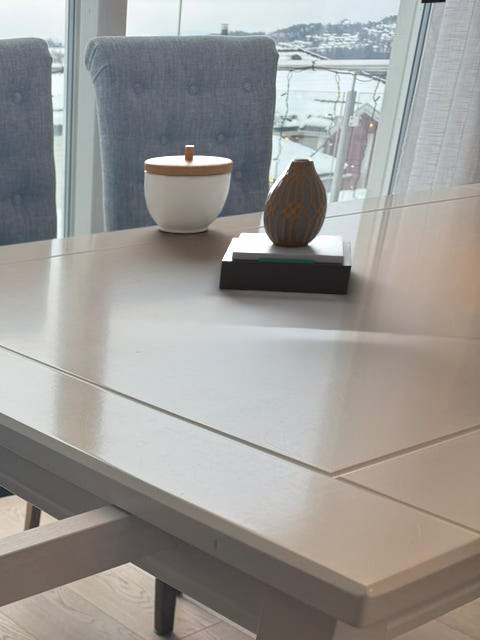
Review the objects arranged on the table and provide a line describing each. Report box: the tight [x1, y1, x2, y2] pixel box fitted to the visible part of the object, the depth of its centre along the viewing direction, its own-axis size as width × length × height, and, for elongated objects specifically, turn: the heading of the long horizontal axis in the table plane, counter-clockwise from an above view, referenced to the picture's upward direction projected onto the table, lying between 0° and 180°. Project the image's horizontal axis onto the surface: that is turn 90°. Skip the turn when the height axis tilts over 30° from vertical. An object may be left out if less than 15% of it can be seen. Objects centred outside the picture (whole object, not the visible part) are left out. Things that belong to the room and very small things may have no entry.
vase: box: [262, 158, 328, 247], centre depth 106 cm, size 7×7×9 cm
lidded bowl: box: [143, 144, 234, 234], centre depth 136 cm, size 13×13×11 cm
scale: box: [218, 232, 352, 295], centre depth 110 cm, size 14×14×4 cm
